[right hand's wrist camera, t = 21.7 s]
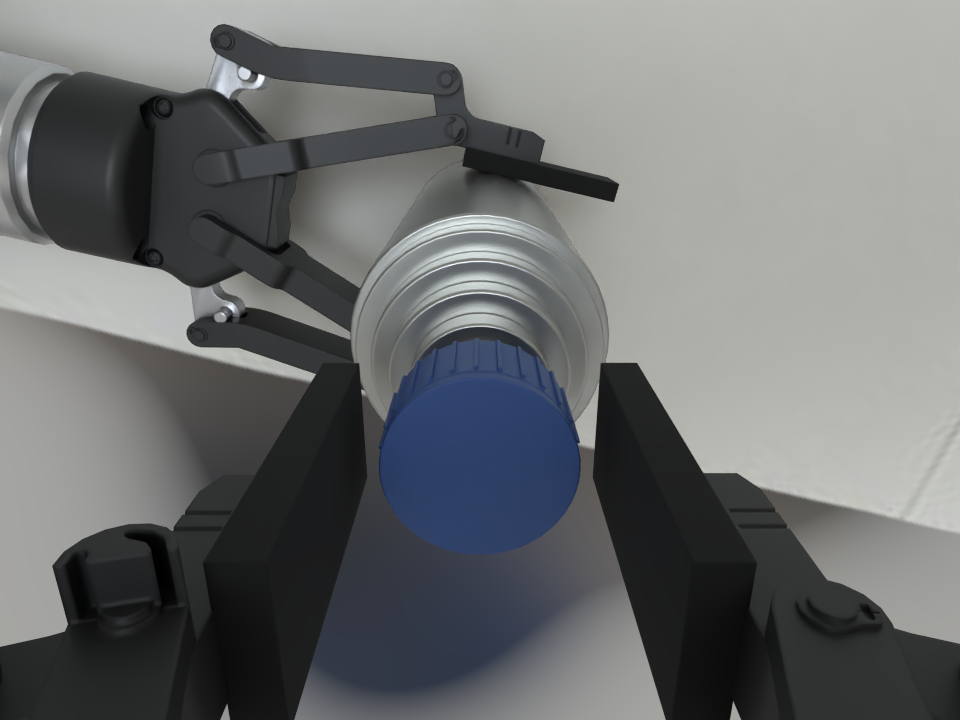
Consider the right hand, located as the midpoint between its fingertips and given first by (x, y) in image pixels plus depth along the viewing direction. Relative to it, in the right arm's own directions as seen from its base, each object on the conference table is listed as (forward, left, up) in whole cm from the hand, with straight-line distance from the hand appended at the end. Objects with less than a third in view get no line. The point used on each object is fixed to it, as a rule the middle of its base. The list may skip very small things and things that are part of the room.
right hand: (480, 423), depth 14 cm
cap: (0, 0, +2) cm, 2 cm away
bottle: (0, 0, -24) cm, 24 cm away
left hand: (-3, -4, -17) cm, 18 cm away
